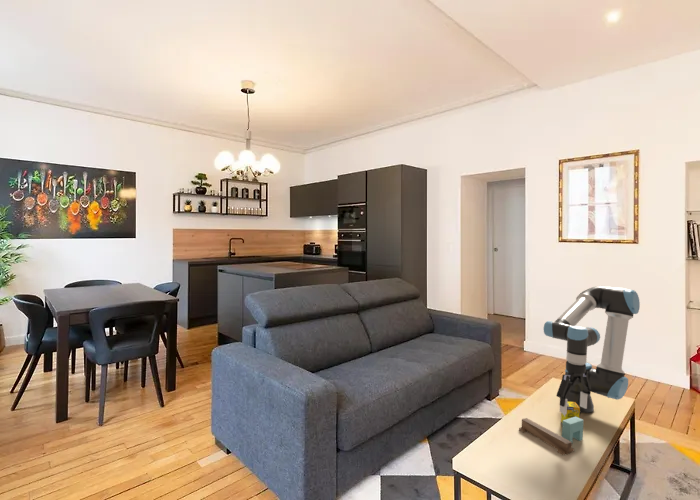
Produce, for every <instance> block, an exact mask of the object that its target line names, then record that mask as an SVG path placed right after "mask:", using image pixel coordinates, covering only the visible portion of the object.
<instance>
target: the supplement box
mask: <svg viewBox="0 0 700 500" xmlns="http://www.w3.org/2000/svg"><path fill="white" fill-rule="evenodd" d="M560 413H561V412H560ZM580 414H581V413H580V407H579V406H578V405H577V404H576V403H575V402H568V401H567V414H566V415H565V414H563V413H561V416H560V423H561V425H562V424H563V420H566V419H569V418H572V417H578V418H580Z"/></svg>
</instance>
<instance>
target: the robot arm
mask: <svg viewBox="0 0 700 500" xmlns="http://www.w3.org/2000/svg"><path fill="white" fill-rule="evenodd" d="M640 303H641V302H640V297H639V294H638V293H637V291H636V290H635V289H629V288H624V287H613V286H605V285H597V286H593V287H589V288H587V289H586V290H585V289H584V290H583V291H582V292H580V293H579V294H578V295H577V296H576V297H575V301H574V302H572V304H571V305H570V306H569V307H568V308H567V309H566V310H565V311H564V312H563V313H562V314H561V315H560V316H559V317H557V319H556V320H555V321H553V320H547V321H545V322H544V325H543V334H544V335H545V336H546V337H549V338H551V339H557V340H562V341H566V358H565V359H566V361H565V369H564V374H562V376H561V382H560V384H559V387H558V388H557V389H558V390H557V392H556V395H555V396H556V397H557V398H559V412H560V413H563V414H565V415H566V414H567V401H568V402H575V403H576V404H577V405H578V406H579V407H580V414H589V413H593V412H594V410H595V409H594V407H595V406H594V403H593V398H592V396H591V394H592V393H594V394H597V395H600V396H604V397H605V398H608V399H613V400H618V401H619V400H621V399H622V398H623V397H624V396H625V394H626V392H627V390H628V387H629V378H628V377H626V376H625V371H624V370H623V368H622V367H623V361H624V356H625V355H624V353H625V349H626V340H627V335H628V334H627V333H628V327H629V323H630V322H629V321H630V320H632V318H634V314H635V315H637V314H638V313H639V312H640V305H641V304H640ZM594 309H602V310H604V313H605V314H606V316H607V320H606V321H607V322H606V328H605V334H604V340H603V347H602V352H601V353H602V354H601V358H600V359H601V360H600V363H599V364H596V368H593V365H592V364H591V363H590V362H587V361H588V360H587V358H588V357H587V354H588V347H591V346H594V345H595V344H597V343H599V342H600V339H601V334H600V332H599V331H598V330H597V329H596V328H594V327H592V326H591V327H589V326H586V327H584V326H581V325H580V326H579V325H577V324H578V323H580V322H581V320H582V319H583V318H584V317H585V316H587V314H588V313H589V312H590V311H594Z"/></svg>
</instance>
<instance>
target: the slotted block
mask: <svg viewBox="0 0 700 500" xmlns="http://www.w3.org/2000/svg"><path fill="white" fill-rule="evenodd" d="M584 421H585V420H584V419H583V418H580V417H579V418H578V417H572V418H569V419H566V420H563V424H561V425H562V426H561V427H562V429H561V437H563V438H565V439H567V440H569V441H571V442H572V443H573V439H575V440H577V441H579V442H580V441H583V439H584Z"/></svg>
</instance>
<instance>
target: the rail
mask: <svg viewBox="0 0 700 500" xmlns="http://www.w3.org/2000/svg"><path fill="white" fill-rule="evenodd" d="M518 431H520V432H521V433H528V434H530V435H531V436H534V437H535V438H537V439H539V440H540V441H542V442H544V443H545V444H547V445H549V446H550V447H553V448H554V449H556V450H557V451H556V452H557V454H559V455H561V456H565V455H570V454H571V453H572V452H574V450H575V449H574V448H573V447H572V445H573V442H571V441H569V440H567V439H565V438H563V437H562V435H560V434H557V433H556V432H554V431H552V430H550V429H548V428H546V427H544V426H543V425H541V424H539V423H538V422H535V421H533V420H531V419H529V418H528V417H525V418H522V419H521V427H518Z"/></svg>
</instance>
